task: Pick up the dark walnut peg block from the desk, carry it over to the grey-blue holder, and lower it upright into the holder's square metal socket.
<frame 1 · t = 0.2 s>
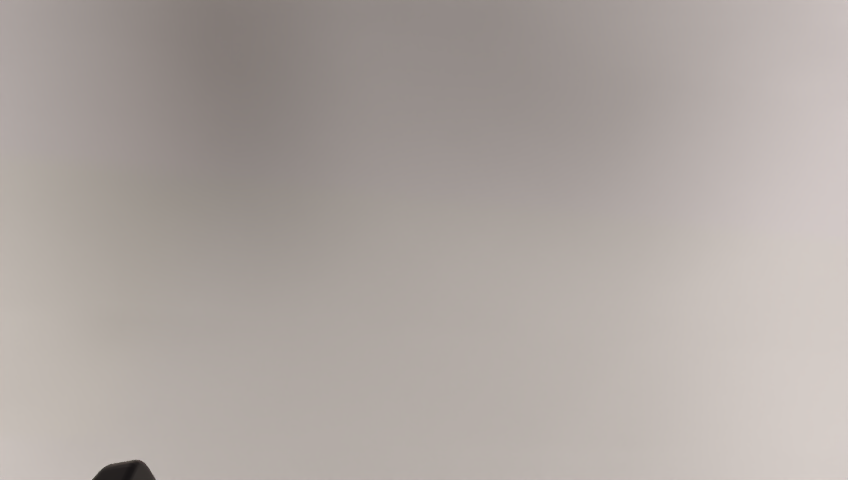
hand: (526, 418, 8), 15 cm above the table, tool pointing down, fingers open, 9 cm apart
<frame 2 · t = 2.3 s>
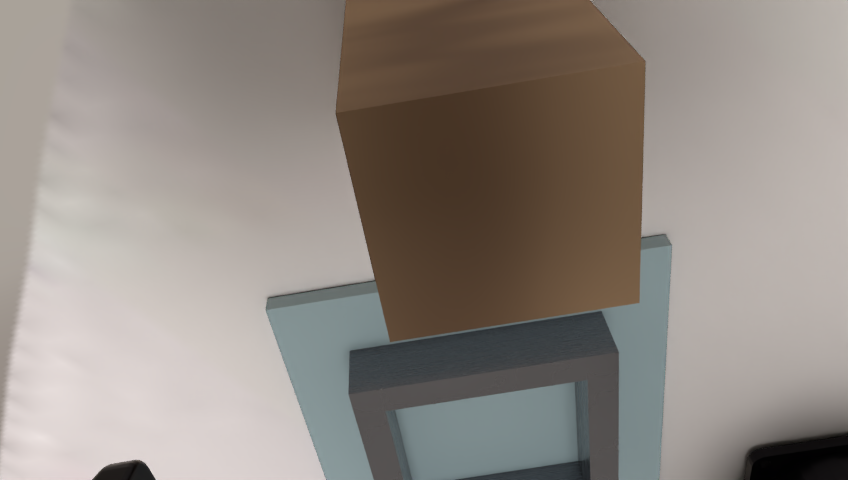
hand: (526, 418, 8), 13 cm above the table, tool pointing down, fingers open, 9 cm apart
socket holder: (485, 405, 27), on the table
walnut peg: (450, 37, 19), on the table
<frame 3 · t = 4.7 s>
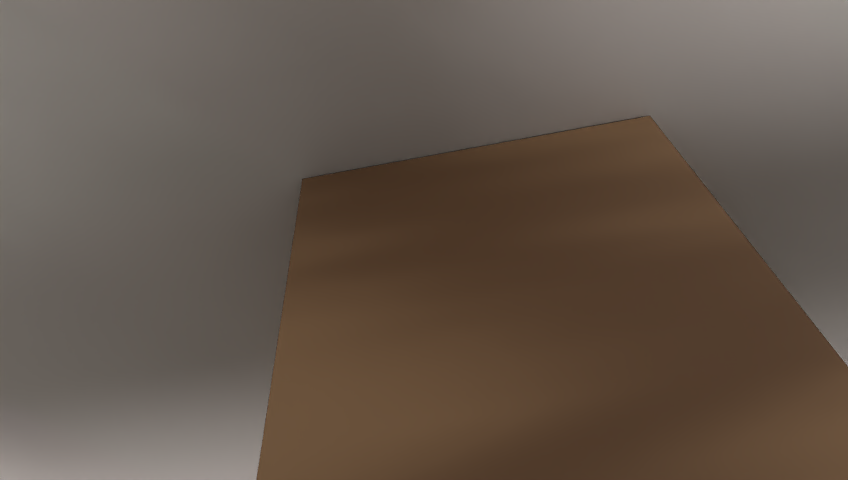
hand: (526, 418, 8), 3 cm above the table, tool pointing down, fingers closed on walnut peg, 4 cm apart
walnut peg: (494, 284, 10), on the table, touching gripper
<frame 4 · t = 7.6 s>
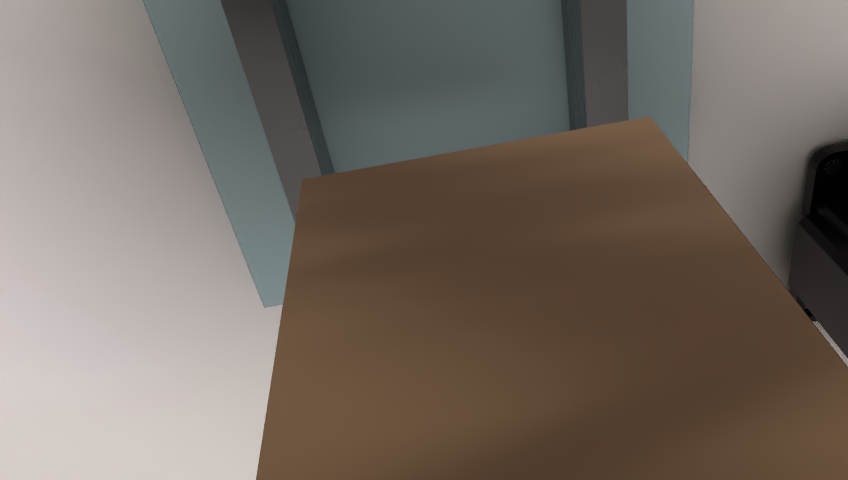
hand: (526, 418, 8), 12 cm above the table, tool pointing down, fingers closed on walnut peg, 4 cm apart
socket holder: (435, 59, 19), on the table
walnut peg: (494, 285, 10), point 10 cm above the table, touching gripper
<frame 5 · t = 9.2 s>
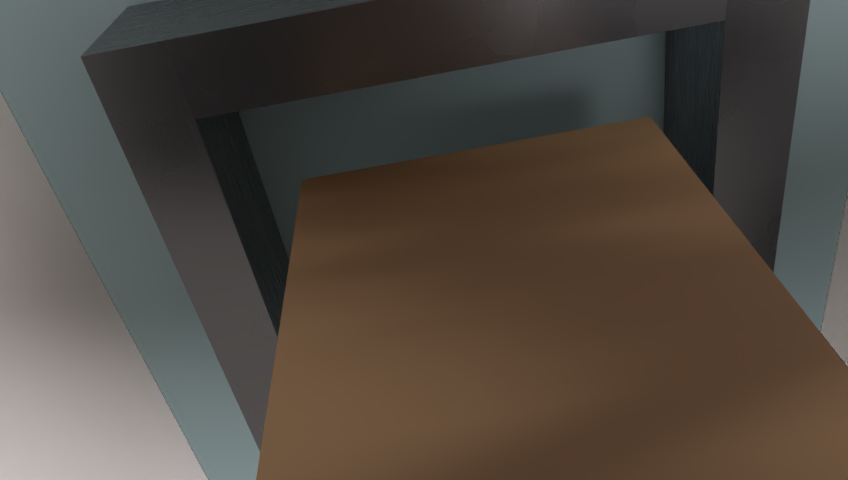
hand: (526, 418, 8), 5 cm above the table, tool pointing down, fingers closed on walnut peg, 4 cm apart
socket holder: (466, 191, 13), on the table
walnut peg: (494, 285, 10), point 3 cm above the table, touching gripper
when the fingers open (4 cm above the table, at t = 10.6 s): walnut peg drops 1 cm, resting on socket holder.
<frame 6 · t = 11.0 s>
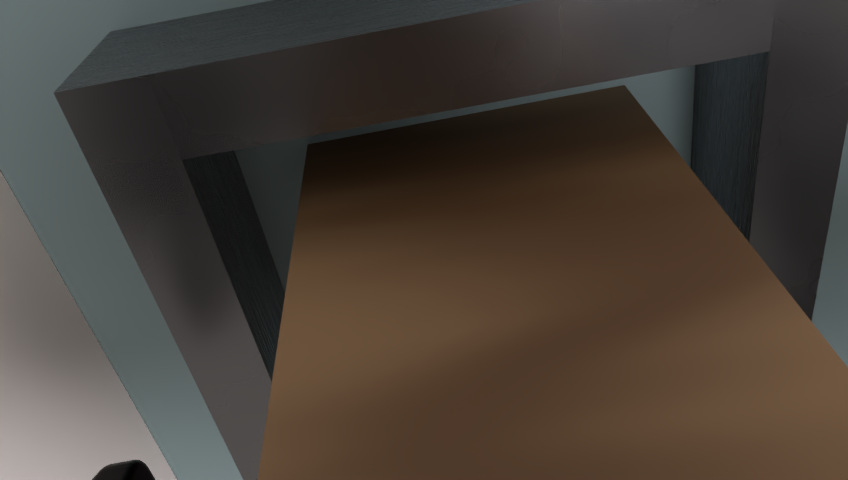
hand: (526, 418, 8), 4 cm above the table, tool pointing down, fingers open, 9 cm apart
socket holder: (477, 223, 12), on the table
walnut peg: (484, 244, 11), point 1 cm above the table, touching socket holder
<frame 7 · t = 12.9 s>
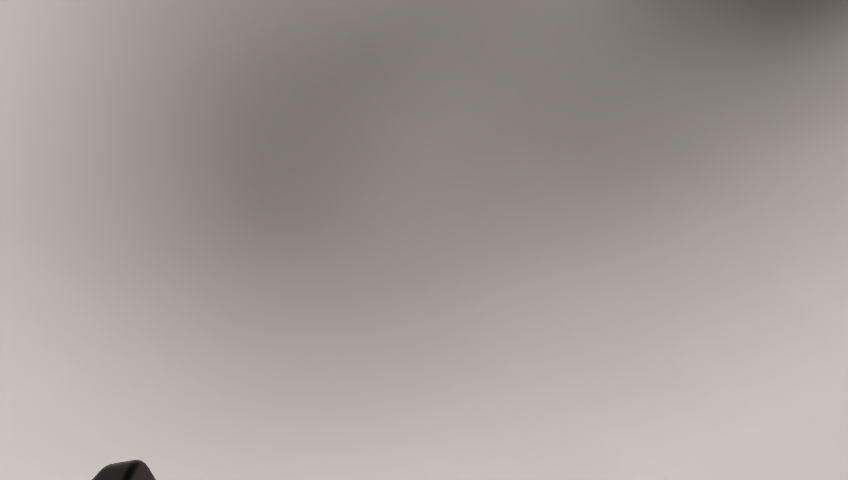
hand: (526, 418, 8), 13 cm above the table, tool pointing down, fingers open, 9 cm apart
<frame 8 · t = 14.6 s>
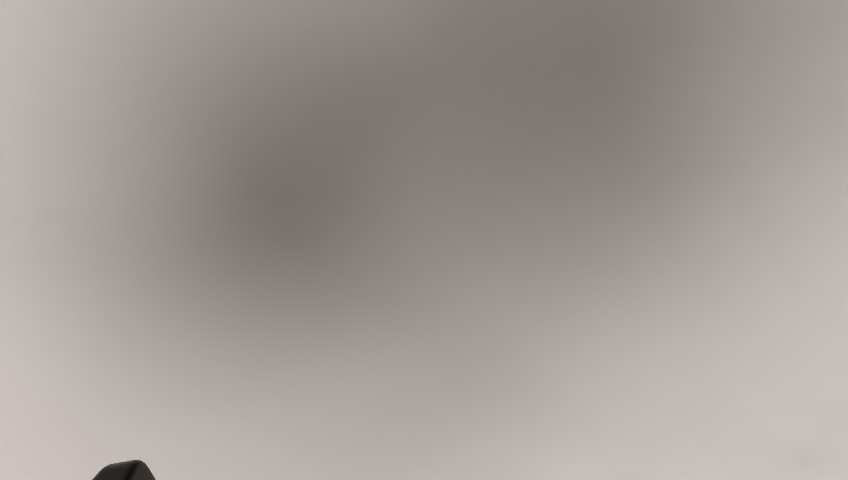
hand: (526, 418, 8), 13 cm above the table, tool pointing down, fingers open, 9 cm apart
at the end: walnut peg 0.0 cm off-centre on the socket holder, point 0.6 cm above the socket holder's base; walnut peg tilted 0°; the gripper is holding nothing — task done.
